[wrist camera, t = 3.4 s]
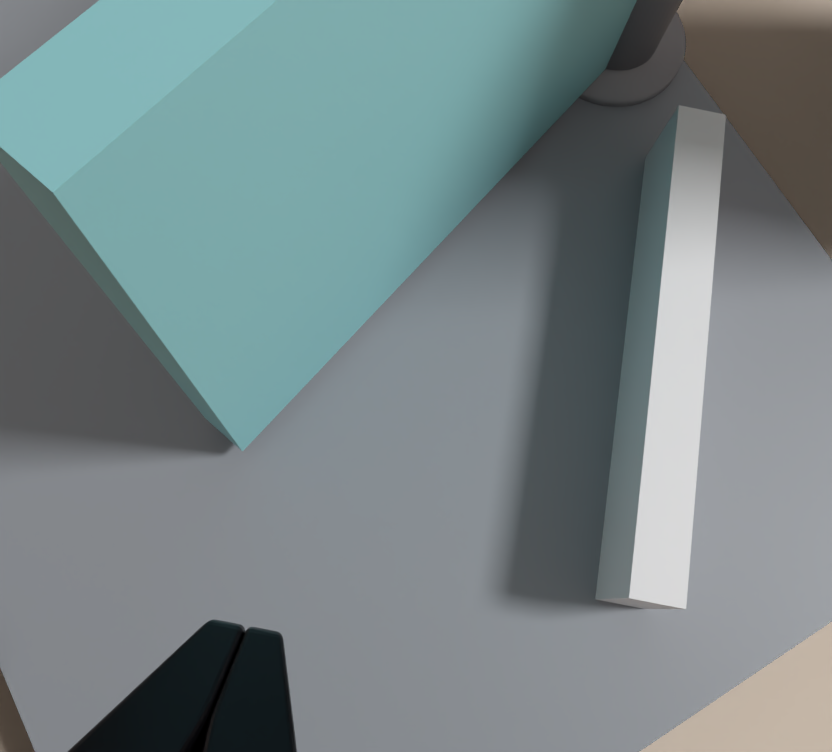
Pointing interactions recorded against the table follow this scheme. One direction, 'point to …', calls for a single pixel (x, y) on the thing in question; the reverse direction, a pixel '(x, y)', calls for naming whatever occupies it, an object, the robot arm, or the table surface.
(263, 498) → the base board
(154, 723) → the robot arm
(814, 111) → the table surface
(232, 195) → the door
